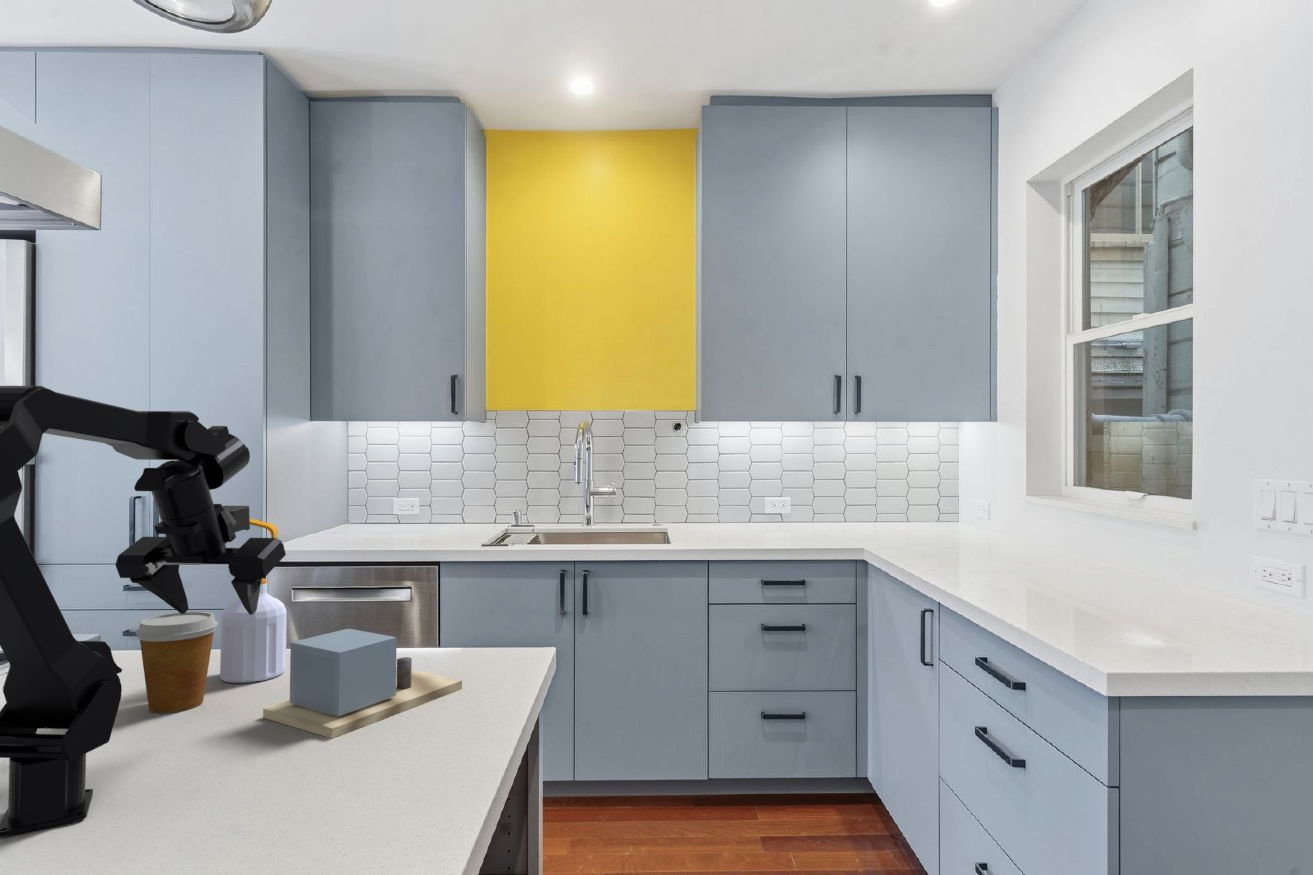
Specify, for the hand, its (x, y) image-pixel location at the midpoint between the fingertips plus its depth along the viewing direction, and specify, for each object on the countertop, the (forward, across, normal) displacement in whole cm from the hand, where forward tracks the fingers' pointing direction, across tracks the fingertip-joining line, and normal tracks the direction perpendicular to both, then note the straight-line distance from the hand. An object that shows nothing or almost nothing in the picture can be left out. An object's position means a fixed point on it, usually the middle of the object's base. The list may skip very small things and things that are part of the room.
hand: (219, 612), depth 96 cm
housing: (+13, -15, +1) cm, 20 cm away
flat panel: (+16, -17, -1) cm, 23 cm away
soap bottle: (+21, +7, -11) cm, 25 cm away
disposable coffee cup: (+15, +9, +1) cm, 18 cm away
